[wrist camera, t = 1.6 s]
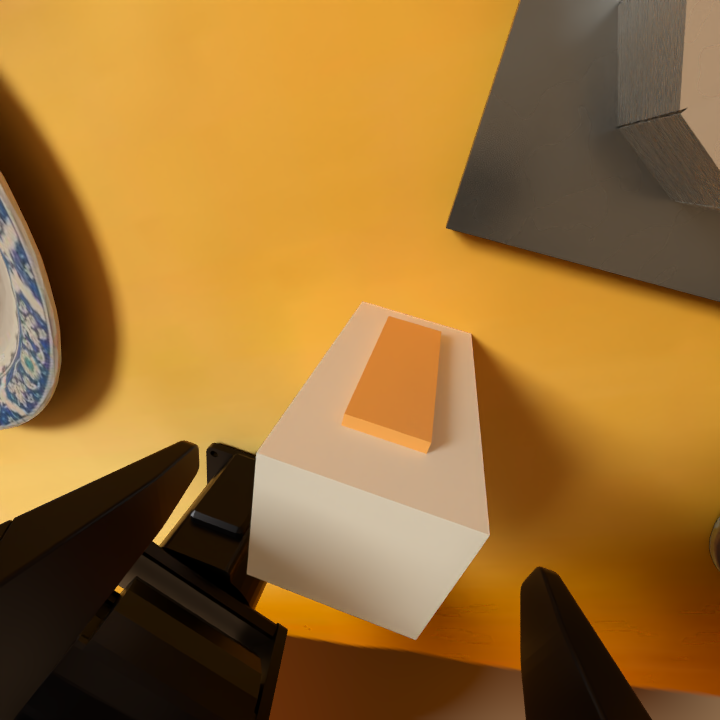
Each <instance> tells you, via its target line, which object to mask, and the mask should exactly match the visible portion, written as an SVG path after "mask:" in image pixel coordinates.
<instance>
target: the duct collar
mask: <svg viewBox="0 0 720 720" xmlns="http://www.w3.org/2000/svg"><path fill="white" fill-rule="evenodd" d="M446 228H448V229H452V230H455V231H459V232H463V233H466V234H470V235H474V236H478V237H481V238H485V239H489V240H492V241H496V242H500V243H504V244H507V245H511V246H515V247H518V248H522V249H526V250H529V251H533V252H537V253H541V254H544V255H548V256H552V257H555V258H559V259H563V260H567V261H570V262H574V263H578V264H581V265H585V266H589V267H593V268H596V269H600V270H604V271H607V272H611V273H615V274H618V275H622V276H626V277H630V278H633V279H637V280H641V281H644V282H648V283H652V284H656V285H659V286H663V287H667V288H670V289H674V290H678V291H682V292H685V293H689V294H693V295H696V296H700V297H704V298H707V299H711V300H715V301H719V302H720V0H520V1H519V4H518V7H517V10H516V13H515V16H514V19H513V23H512V26H511V29H510V32H509V35H508V38H507V41H506V44H505V47H504V50H503V53H502V56H501V59H500V62H499V65H498V68H497V71H496V74H495V78H494V81H493V84H492V87H491V90H490V93H489V96H488V99H487V102H486V105H485V108H484V111H483V114H482V117H481V120H480V123H479V126H478V129H477V133H476V136H475V139H474V142H473V145H472V148H471V151H470V154H469V157H468V160H467V163H466V166H465V169H464V172H463V175H462V178H461V181H460V184H459V188H458V191H457V194H456V197H455V200H454V203H453V206H452V209H451V212H450V215H449V218H448V221H447V225H446Z"/></svg>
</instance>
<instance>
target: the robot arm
mask: <svg viewBox="0 0 720 720" xmlns="http://www.w3.org/2000/svg"><path fill="white" fill-rule="evenodd" d="M206 456H207V486H206V487H205V488H204V489H203V491H202V492H201V493H200V495H199V496H198V497H197V498H196V500H195V501H194V502H193V503H192V505H191V506H190V507H189V509H188V510H187V511H186V512H185V514H184V515H183V516H182V517H181V519H180V520H179V521H178V523H177V524H176V525H175V526H174V528H173V529H172V530H171V532H170V533H169V534H168V535H167V537H166V538H165V539H164V540H163V542H162V543H161V544H160V546H158V545H157V544H155V543H154V542H152V541H153V539H154V538H155V537H156V535H157V534H158V533H159V531H160V530H161V529H162V527H163V526H164V524H165V523H166V521H167V520H168V518H169V517H170V515H171V514H172V512H173V510H174V509H175V507H176V506H177V504H178V502H179V501H180V499H181V498H182V496H183V495H184V493H185V491H186V490H187V488H188V487H189V485H190V483H191V482H192V480H193V479H194V477H195V475H196V474H197V472H198V469H199V448H198V446H197V445H196V444H194V443H191V442H188V441H180V442H177V443H175V444H173V445H171V446H169V447H167V448H164V449H162V450H160V451H158V452H156V453H154V454H152V455H149V456H147V457H145V458H143V459H141V460H139V461H136V462H134V463H132V464H130V465H128V466H126V467H123V468H121V469H119V470H117V471H115V472H113V473H110V474H108V475H106V476H104V477H102V478H100V479H98V480H95V481H93V482H91V483H89V484H87V485H85V486H82V487H80V488H78V489H76V490H74V491H72V492H69V493H67V494H65V495H63V496H61V497H59V498H56V499H54V500H52V501H50V502H48V503H46V504H44V505H41V506H39V507H37V508H35V509H33V510H31V511H28V512H26V513H24V514H22V515H20V516H18V517H15V518H14V519H13V521H12V520H9V521H7V522H4V523H2V524H0V720H269V716H270V710H271V706H272V701H273V697H274V692H275V688H276V683H277V678H278V673H279V669H280V664H281V659H282V654H283V650H284V645H285V640H286V636H287V631H288V630H287V628H285V627H284V626H282V625H281V624H279V623H277V624H275V623H274V622H272V621H271V620H269V619H268V618H266V617H265V616H263V615H262V614H260V613H259V612H257V611H256V610H255V608H256V605H257V603H258V601H259V599H260V597H261V594H262V592H263V590H264V588H265V586H266V583H267V582H266V581H263V580H261V579H258V578H256V577H253V576H250V575H248V574H247V564H248V552H249V539H250V527H251V514H252V502H253V489H254V477H255V464H256V457H255V456H252V455H249V454H246V453H244V452H241V451H238V450H235V449H232V448H230V447H227V446H224V445H221V444H218V443H212V444H211V445H210V446H209V447H208V449H207V451H206ZM118 585H119V586H120V587H122V588H124V590H123V591H122V592H121V593H120V594H119V593H117V592H116V591H114V590H115V588H116V587H117V586H118ZM520 652H521V673H522V683H523V694H524V704H525V714H526V720H652V719H651V717H650V716H649V714H648V713H647V711H646V710H645V708H644V707H643V705H642V703H641V702H640V700H639V699H638V697H637V696H636V694H635V693H634V691H633V689H632V688H631V686H630V685H629V683H628V682H627V680H626V679H625V677H624V675H623V674H622V672H621V671H620V669H619V668H618V666H617V665H616V663H615V662H614V660H613V658H612V657H611V655H610V654H609V652H608V651H607V649H606V648H605V646H604V644H603V643H602V641H601V640H600V638H599V637H598V635H597V634H596V632H595V631H594V629H593V627H592V626H591V624H590V623H589V621H588V620H587V618H586V617H585V615H584V613H583V612H582V610H581V609H580V607H579V606H578V604H577V603H576V601H575V599H574V598H573V596H572V595H571V593H570V592H569V590H568V589H567V587H566V586H565V584H564V582H563V581H562V579H561V578H560V576H559V575H558V574H557V573H556V572H554V571H552V570H549V569H546V568H543V567H537V568H535V569H534V571H533V572H532V573H531V574H530V575H529V576H528V577H527V578H526V580H525V581H524V582H523V584H522V586H521V592H520Z"/></svg>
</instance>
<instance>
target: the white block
mask: <svg viewBox="0 0 720 720" xmlns="http://www.w3.org/2000/svg"><path fill="white" fill-rule="evenodd" d="M489 536H490V530H489V519H488V508H487V497H486V487H485V476H484V465H483V454H482V444H481V433H480V422H479V412H478V401H477V390H476V379H475V369H474V358H473V347H472V336H471V334H470V333H467V332H464V331H460V330H457V329H454V328H450V327H447V326H444V325H440V324H437V323H434V322H430V321H427V320H423V319H420V318H417V317H413V316H410V315H407V314H403V313H400V312H397V311H393V310H390V309H387V308H383V307H380V306H376V305H373V304H370V303H366V302H363V301H362V303H361V304H360V306H359V307H358V308H357V310H356V311H355V313H354V314H353V316H352V317H351V318H350V320H349V321H348V323H347V324H346V326H345V327H344V328H343V330H342V331H341V333H340V334H339V336H338V337H337V338H336V340H335V341H334V343H333V344H332V346H331V347H330V348H329V350H328V351H327V353H326V354H325V356H324V357H323V358H322V360H321V361H320V363H319V364H318V366H317V367H316V368H315V370H314V371H313V373H312V374H311V375H310V377H309V378H308V380H307V381H306V383H305V384H304V385H303V387H302V388H301V390H300V391H299V393H298V394H297V395H296V397H295V398H294V400H293V401H292V403H291V404H290V405H289V407H288V408H287V410H286V411H285V413H284V414H283V415H282V417H281V418H280V420H279V421H278V423H277V424H276V425H275V427H274V428H273V430H272V431H271V433H270V434H269V435H268V437H267V438H266V440H265V441H264V443H263V444H262V445H261V447H260V448H259V450H258V451H257V453H256V464H255V477H254V489H253V502H252V514H251V527H250V539H249V552H248V564H247V574H248V575H250V576H253V577H256V578H258V579H261V580H263V581H266V582H268V583H271V584H274V585H276V586H279V587H281V588H284V589H286V590H289V591H291V592H294V593H297V594H299V595H302V596H304V597H307V598H309V599H312V600H314V601H317V602H320V603H322V604H325V605H327V606H330V607H332V608H335V609H337V610H340V611H343V612H345V613H348V614H350V615H353V616H355V617H358V618H360V619H363V620H366V621H368V622H371V623H373V624H376V625H378V626H381V627H383V628H386V629H389V630H391V631H394V632H396V633H399V634H401V635H404V636H406V637H409V638H412V639H414V640H416V639H417V638H418V636H419V635H420V634H421V632H422V631H423V629H424V628H425V626H426V625H427V624H428V622H429V621H430V619H431V618H432V617H433V615H434V614H435V612H436V611H437V609H438V608H439V607H440V605H441V604H442V602H443V601H444V600H445V598H446V597H447V595H448V594H449V593H450V591H451V590H452V588H453V587H454V585H455V584H456V583H457V581H458V580H459V578H460V577H461V576H462V574H463V573H464V571H465V570H466V568H467V567H468V566H469V564H470V563H471V561H472V560H473V559H474V557H475V556H476V554H477V553H478V551H479V550H480V549H481V547H482V546H483V544H484V543H485V542H486V540H487V539H488V537H489Z"/></svg>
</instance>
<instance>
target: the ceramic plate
mask: <svg viewBox="0 0 720 720" xmlns="http://www.w3.org/2000/svg"><path fill="white" fill-rule="evenodd" d="M61 361H62V358H61V338H60V327H59V320H58V315H57V310H56V306H55V302H54V298H53V294H52V290H51V287H50V283H49V280H48V276H47V273H46V270H45V267H44V263H43V260H42V257H41V255H40V252H39V250H38V248H37V245H36V243H35V241H34V239H33V236H32V234H31V232H30V230H29V227H28V225H27V223H26V221H25V219H24V217H23V215H22V213H21V210H20V208H19V206H18V204H17V202H16V200H15V198H14V196H13V194H12V192H11V190H10V188H9V186H8V184H7V182H6V180H5V178H4V176H3V174H2V173H1V171H0V430H1V429H8V428H12V427H16V426H20V425H22V424H24V423H26V422H28V421H30V420H31V419H33V418H34V417H35V416H37V415H38V414H39V413H40V412H41V411H42V410H43V409H44V408H45V407H46V406H47V405H48V403H49V401H50V400H51V398H52V396H53V395H54V392H55V389H56V386H57V384H58V379H59V373H60V367H61Z"/></svg>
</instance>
